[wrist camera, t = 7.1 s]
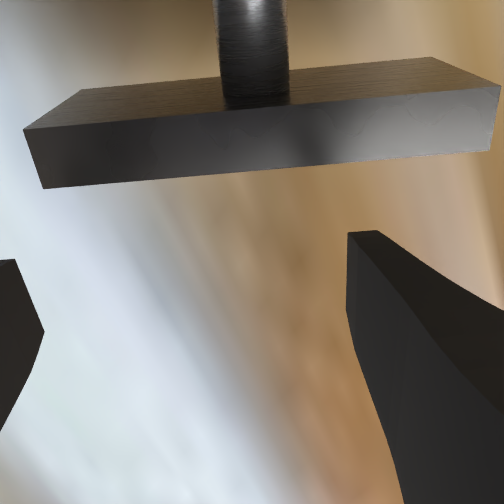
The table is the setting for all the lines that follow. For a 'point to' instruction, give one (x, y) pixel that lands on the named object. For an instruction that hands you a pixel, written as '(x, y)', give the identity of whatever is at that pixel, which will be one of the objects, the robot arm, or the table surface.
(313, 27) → the table surface
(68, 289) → the table surface
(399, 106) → the shaft
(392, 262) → the robot arm
